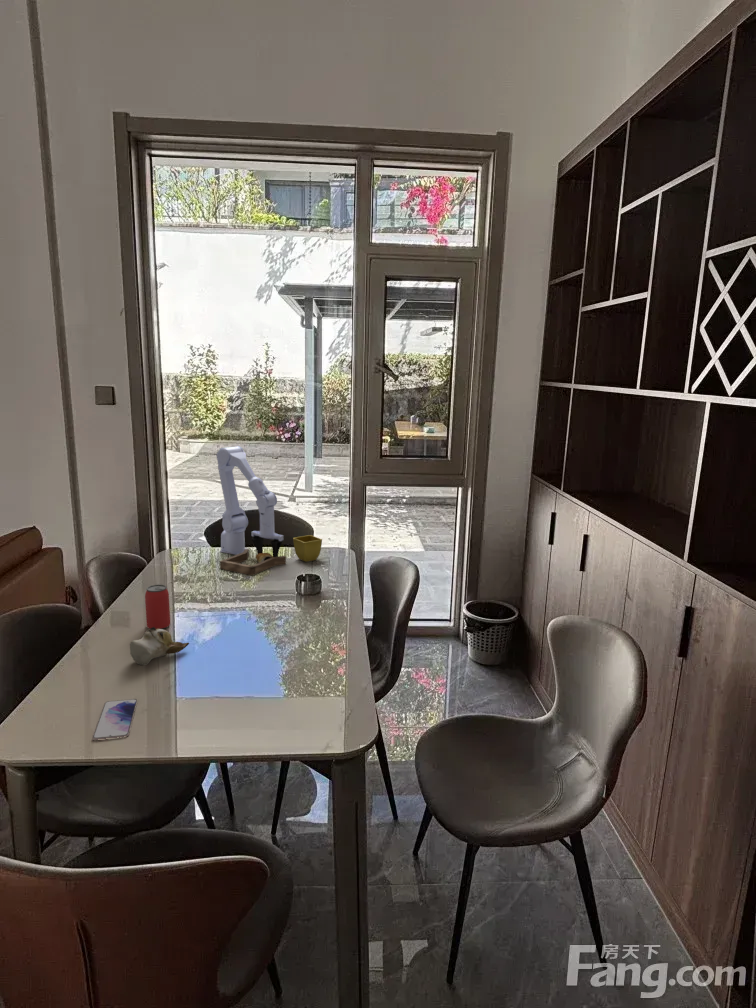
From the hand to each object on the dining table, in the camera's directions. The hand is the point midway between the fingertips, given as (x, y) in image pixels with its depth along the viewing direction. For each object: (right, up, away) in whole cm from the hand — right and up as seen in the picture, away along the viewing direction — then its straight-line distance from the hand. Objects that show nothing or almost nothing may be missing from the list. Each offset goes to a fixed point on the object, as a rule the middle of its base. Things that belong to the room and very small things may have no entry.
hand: (267, 555), depth 246 cm
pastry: (-1, -2, -4) cm, 4 cm away
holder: (-5, -3, -8) cm, 10 cm away
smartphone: (-12, -26, -114) cm, 118 cm away
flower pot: (+16, -2, 0) cm, 16 cm away
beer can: (-20, -15, -66) cm, 71 cm away
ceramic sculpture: (-14, -20, -85) cm, 89 cm away
